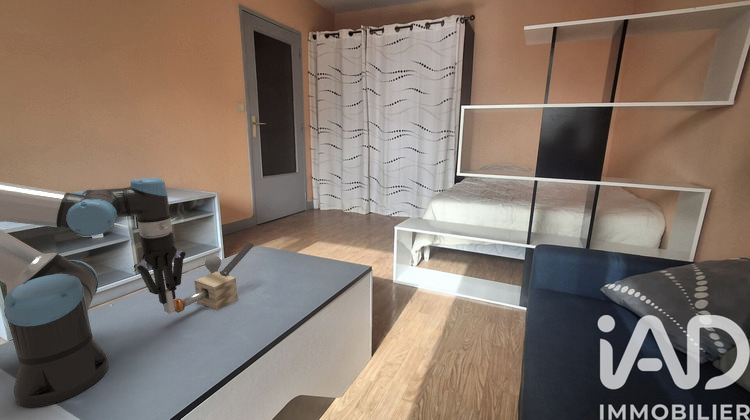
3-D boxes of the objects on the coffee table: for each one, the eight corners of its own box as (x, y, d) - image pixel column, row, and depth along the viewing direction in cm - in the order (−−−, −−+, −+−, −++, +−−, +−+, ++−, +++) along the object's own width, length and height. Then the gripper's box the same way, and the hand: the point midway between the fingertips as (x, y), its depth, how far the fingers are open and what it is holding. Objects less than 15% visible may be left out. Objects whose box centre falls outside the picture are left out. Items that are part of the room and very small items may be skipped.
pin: (181, 314, 95) (179, 301, 94) (173, 310, 96) (171, 298, 95) (220, 295, 106) (219, 284, 105) (212, 292, 108) (211, 281, 107)
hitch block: (216, 310, 102) (214, 287, 100) (197, 302, 106) (194, 280, 105) (237, 299, 109) (235, 277, 107) (218, 292, 113) (216, 271, 111)
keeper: (227, 276, 108) (225, 274, 107) (220, 274, 109) (219, 272, 109) (254, 245, 117) (253, 243, 117) (248, 244, 119) (247, 242, 118)
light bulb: (218, 283, 120) (215, 258, 118) (204, 283, 120) (201, 258, 118) (225, 277, 126) (222, 253, 123) (211, 277, 126) (209, 253, 123)
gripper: (137, 243, 80) (153, 326, 86) (188, 230, 92) (198, 304, 97) (122, 238, 84) (138, 319, 89) (172, 226, 95) (183, 298, 100)
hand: (169, 311), depth 93 cm, fingers closed
